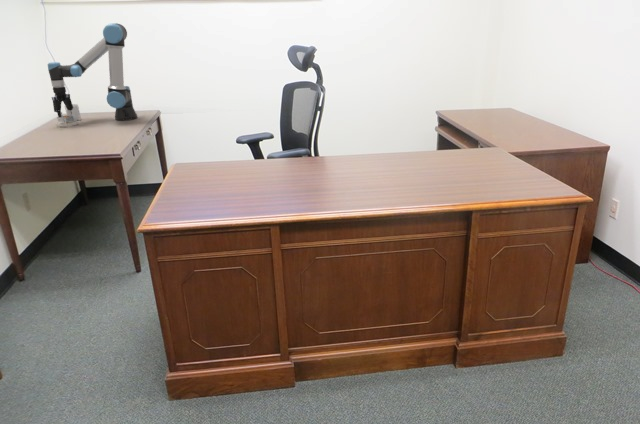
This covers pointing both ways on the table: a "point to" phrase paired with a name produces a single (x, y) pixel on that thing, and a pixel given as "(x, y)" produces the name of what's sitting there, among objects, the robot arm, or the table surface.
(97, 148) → the table surface
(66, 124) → the keeper
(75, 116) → the mug
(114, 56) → the robot arm
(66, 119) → the link
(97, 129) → the table surface
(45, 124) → the table surface
